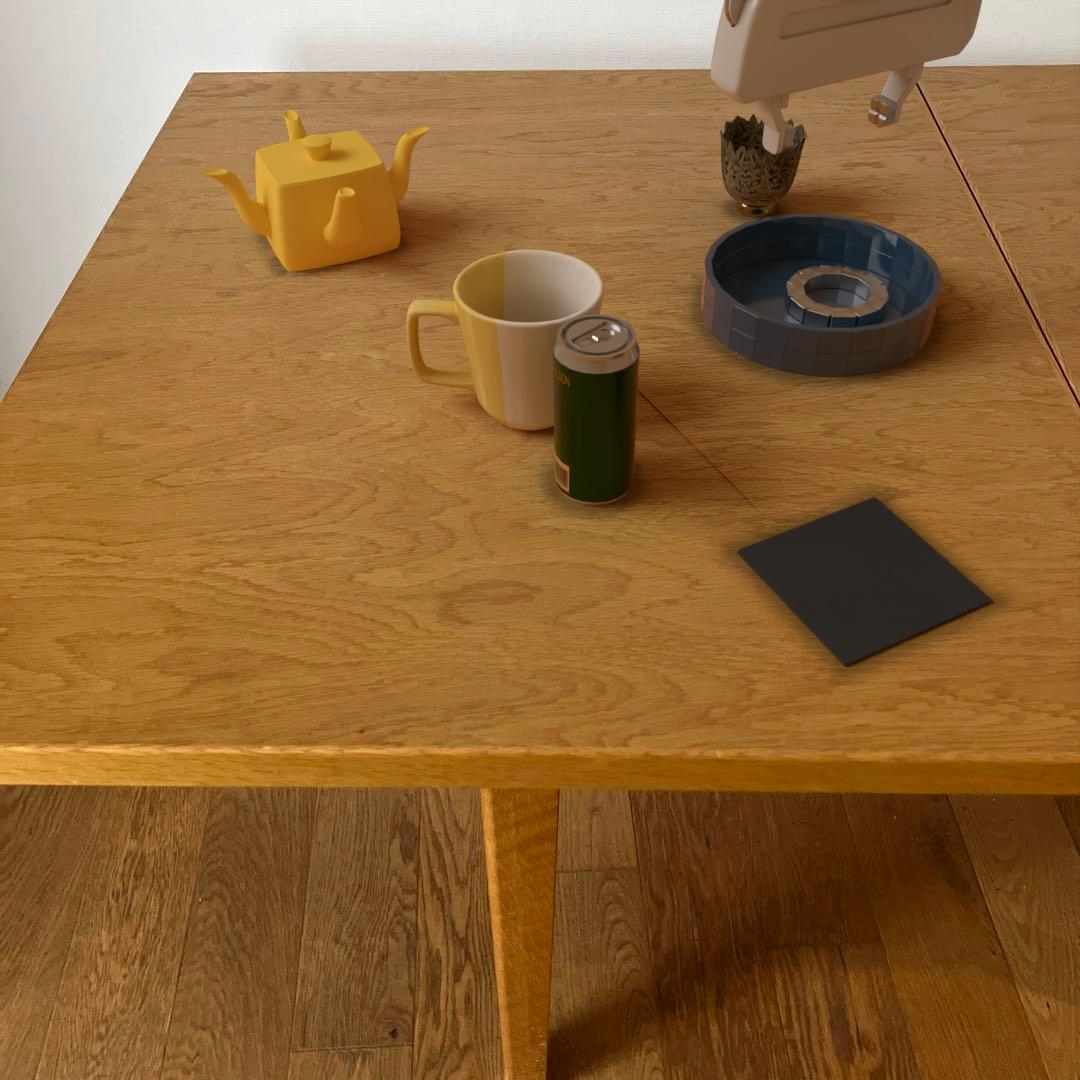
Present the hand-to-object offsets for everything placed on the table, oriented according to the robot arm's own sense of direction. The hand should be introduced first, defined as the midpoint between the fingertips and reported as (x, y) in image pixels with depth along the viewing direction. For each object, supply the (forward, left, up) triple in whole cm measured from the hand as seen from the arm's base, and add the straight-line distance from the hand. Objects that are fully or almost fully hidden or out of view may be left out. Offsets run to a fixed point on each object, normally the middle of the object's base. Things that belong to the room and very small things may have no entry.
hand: (830, 136), depth 86 cm
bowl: (-1, 0, -15) cm, 15 cm away
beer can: (+25, +10, -16) cm, 31 cm away
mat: (+15, +26, -15) cm, 34 cm away
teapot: (+29, -31, -16) cm, 45 cm away
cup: (-7, -17, -16) cm, 24 cm away
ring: (-3, 0, -15) cm, 15 cm away
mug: (+26, -1, -16) cm, 30 cm away
